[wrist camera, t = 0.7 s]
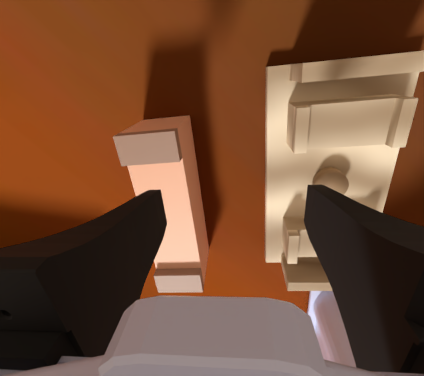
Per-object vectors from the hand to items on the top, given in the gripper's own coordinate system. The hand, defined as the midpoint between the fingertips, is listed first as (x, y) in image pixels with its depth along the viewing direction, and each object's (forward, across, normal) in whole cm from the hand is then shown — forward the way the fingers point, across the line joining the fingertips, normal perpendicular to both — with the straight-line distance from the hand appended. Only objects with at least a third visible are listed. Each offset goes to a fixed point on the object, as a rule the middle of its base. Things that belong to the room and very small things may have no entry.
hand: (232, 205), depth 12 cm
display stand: (+10, -8, +3) cm, 13 cm away
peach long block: (+10, +5, +4) cm, 12 cm away
